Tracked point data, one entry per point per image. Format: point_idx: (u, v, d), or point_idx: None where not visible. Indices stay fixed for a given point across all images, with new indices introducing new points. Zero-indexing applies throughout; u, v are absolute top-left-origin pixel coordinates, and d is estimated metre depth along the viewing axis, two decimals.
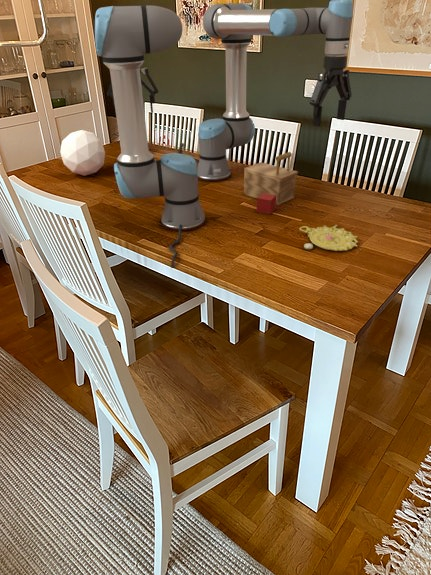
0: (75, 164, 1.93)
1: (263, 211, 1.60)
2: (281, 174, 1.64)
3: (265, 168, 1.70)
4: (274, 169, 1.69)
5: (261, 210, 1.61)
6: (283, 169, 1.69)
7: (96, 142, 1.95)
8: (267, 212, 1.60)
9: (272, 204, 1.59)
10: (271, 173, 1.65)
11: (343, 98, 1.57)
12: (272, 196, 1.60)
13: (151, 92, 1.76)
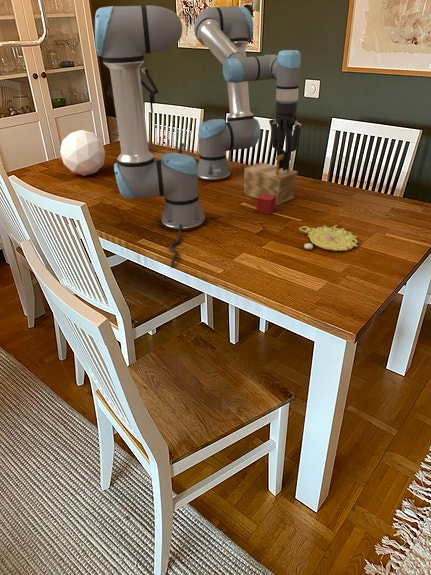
0: (75, 164, 1.93)
1: (263, 211, 1.60)
2: (281, 174, 1.64)
3: (265, 168, 1.70)
4: (274, 169, 1.69)
5: (261, 210, 1.61)
6: None
7: (96, 142, 1.95)
8: (267, 212, 1.60)
9: (272, 204, 1.59)
10: (271, 173, 1.65)
11: (280, 147, 1.62)
12: (272, 196, 1.60)
13: (151, 92, 1.76)
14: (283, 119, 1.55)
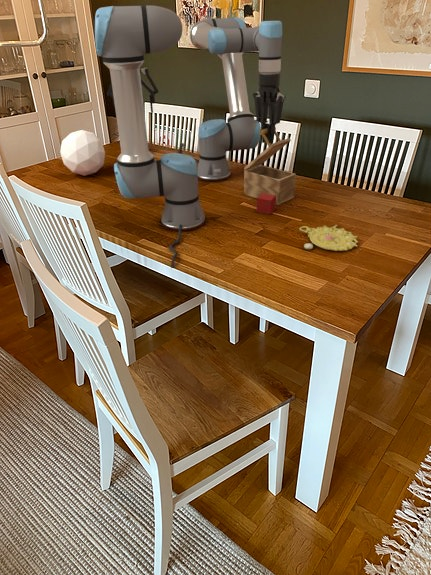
0: (75, 164, 1.93)
1: (263, 211, 1.60)
2: None
3: None
4: None
5: (261, 210, 1.61)
6: None
7: (96, 142, 1.95)
8: (267, 212, 1.60)
9: (272, 204, 1.59)
10: None
11: (264, 121, 1.62)
12: (272, 196, 1.60)
13: (151, 92, 1.76)
14: (266, 91, 1.55)
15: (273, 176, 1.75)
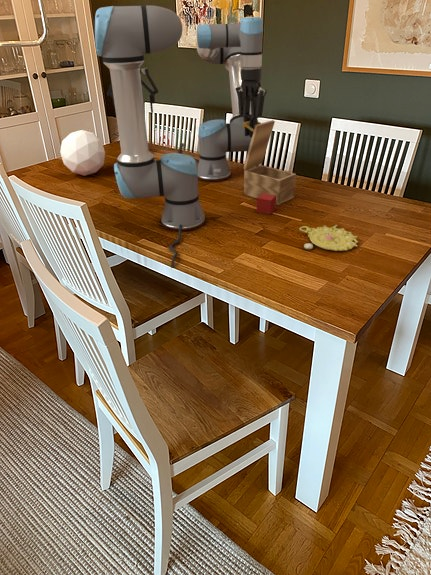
0: (75, 164, 1.93)
1: (263, 211, 1.60)
2: None
3: None
4: None
5: (261, 210, 1.61)
6: None
7: (96, 142, 1.95)
8: (267, 212, 1.60)
9: (272, 204, 1.59)
10: None
11: (247, 115, 1.67)
12: (272, 196, 1.60)
13: (151, 92, 1.76)
14: (248, 86, 1.60)
15: (273, 176, 1.75)
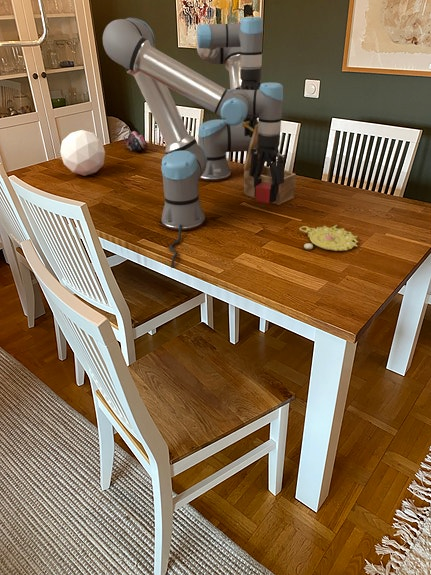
0: (75, 164, 1.93)
1: (262, 200, 1.58)
2: None
3: None
4: None
5: (260, 199, 1.58)
6: None
7: (96, 142, 1.95)
8: (266, 201, 1.58)
9: None
10: None
11: None
12: None
13: (273, 181, 1.53)
14: (248, 86, 1.59)
15: None
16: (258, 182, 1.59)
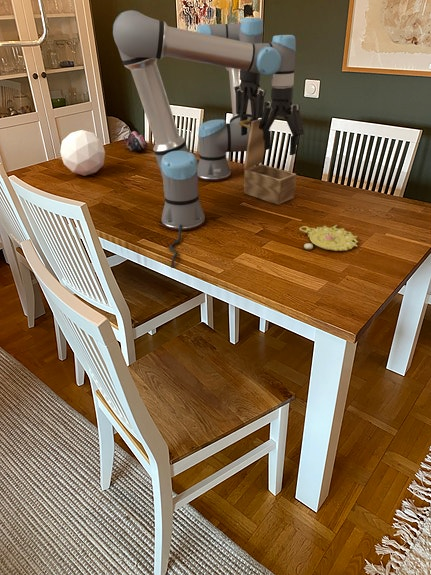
0: (75, 164, 1.93)
1: None
2: None
3: None
4: None
5: None
6: None
7: (96, 142, 1.95)
8: None
9: None
10: None
11: (243, 114, 1.68)
12: None
13: (293, 133, 1.54)
14: (247, 86, 1.60)
15: (273, 176, 1.74)
16: (267, 134, 1.63)
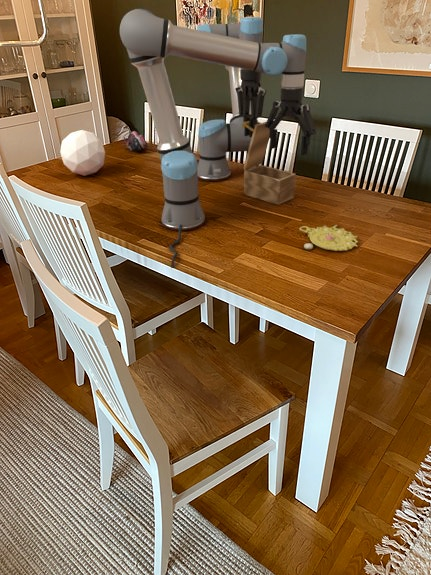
0: (75, 164, 1.93)
1: None
2: None
3: None
4: None
5: None
6: None
7: (96, 142, 1.95)
8: None
9: None
10: None
11: (246, 115, 1.67)
12: None
13: (305, 133, 1.51)
14: (248, 86, 1.60)
15: (273, 176, 1.75)
16: (274, 133, 1.61)
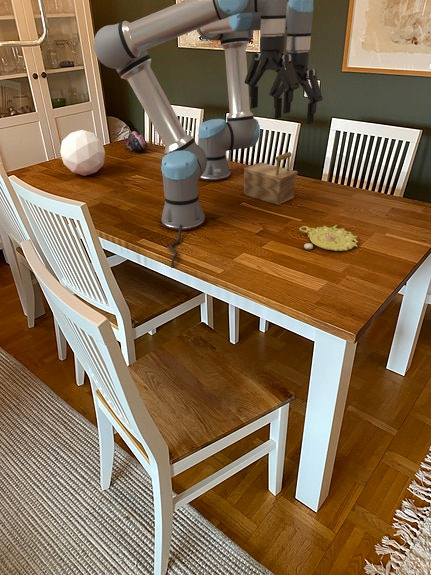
0: (75, 164, 1.93)
1: None
2: (281, 174, 1.64)
3: (265, 168, 1.70)
4: (274, 169, 1.69)
5: None
6: (283, 169, 1.69)
7: (96, 142, 1.95)
8: None
9: None
10: (271, 173, 1.65)
11: (278, 96, 1.54)
12: None
13: (287, 87, 1.35)
14: None
15: None
16: (254, 90, 1.45)
